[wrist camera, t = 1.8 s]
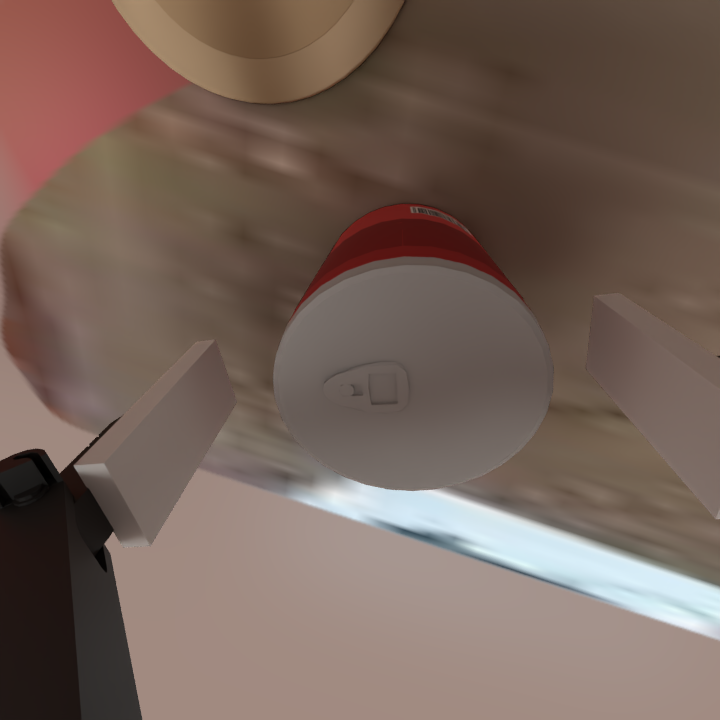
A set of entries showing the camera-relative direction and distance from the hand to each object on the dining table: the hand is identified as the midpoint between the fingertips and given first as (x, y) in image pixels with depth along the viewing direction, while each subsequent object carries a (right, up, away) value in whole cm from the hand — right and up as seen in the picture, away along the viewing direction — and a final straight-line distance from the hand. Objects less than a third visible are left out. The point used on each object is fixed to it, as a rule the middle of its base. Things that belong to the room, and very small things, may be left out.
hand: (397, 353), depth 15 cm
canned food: (+1, +4, +7) cm, 8 cm away
